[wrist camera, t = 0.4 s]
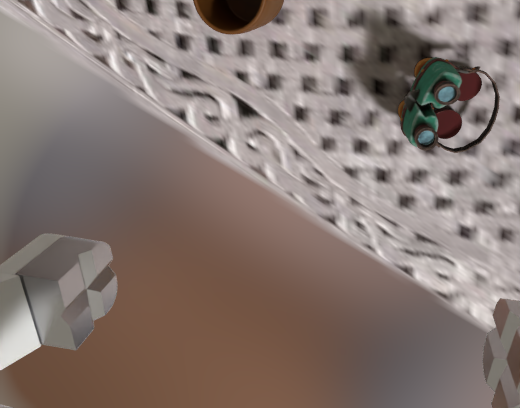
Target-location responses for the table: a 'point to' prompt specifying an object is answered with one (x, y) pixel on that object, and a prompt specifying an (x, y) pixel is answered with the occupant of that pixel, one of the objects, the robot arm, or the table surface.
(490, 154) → the table surface
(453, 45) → the table surface
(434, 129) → the binoculars
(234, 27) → the mug
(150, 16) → the table surface
